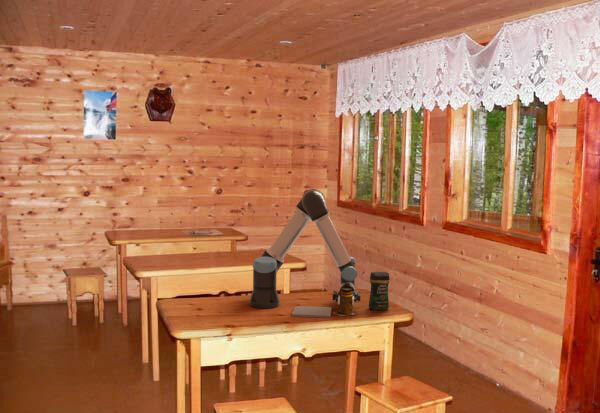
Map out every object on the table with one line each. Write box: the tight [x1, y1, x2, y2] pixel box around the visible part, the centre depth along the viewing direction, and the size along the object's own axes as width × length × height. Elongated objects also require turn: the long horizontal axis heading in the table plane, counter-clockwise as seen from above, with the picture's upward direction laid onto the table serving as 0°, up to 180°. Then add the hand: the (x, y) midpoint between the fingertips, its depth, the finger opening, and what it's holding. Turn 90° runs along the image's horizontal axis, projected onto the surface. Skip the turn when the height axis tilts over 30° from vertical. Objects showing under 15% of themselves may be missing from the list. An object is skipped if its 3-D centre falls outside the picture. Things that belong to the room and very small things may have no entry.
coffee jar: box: [368, 271, 391, 311], centre depth 321 cm, size 10×8×19 cm
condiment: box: [332, 288, 356, 317], centre depth 311 cm, size 7×8×12 cm
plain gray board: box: [291, 305, 333, 319], centre depth 312 cm, size 18×16×1 cm
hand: (345, 301), depth 306 cm, fingers closed on condiment, 6 cm apart
